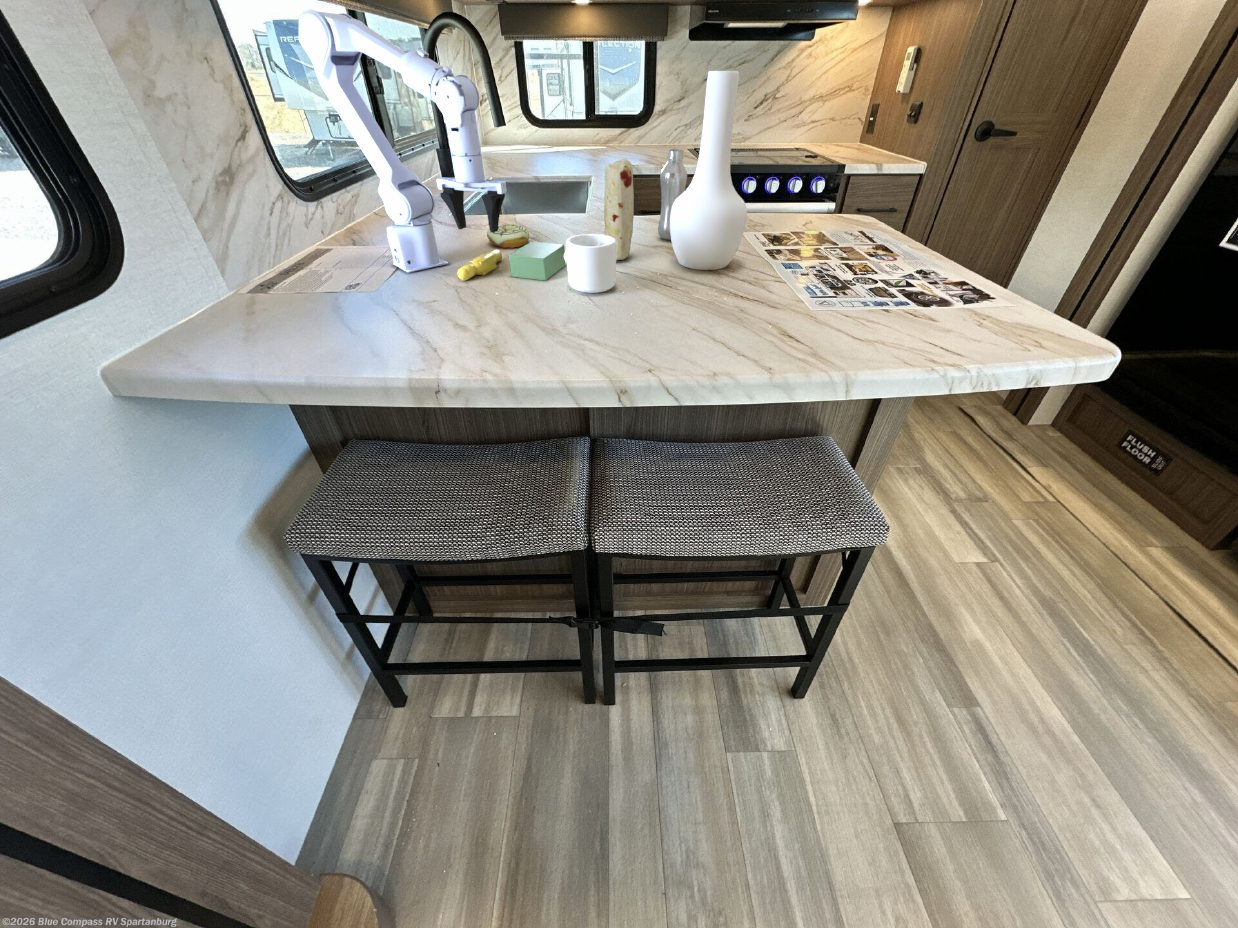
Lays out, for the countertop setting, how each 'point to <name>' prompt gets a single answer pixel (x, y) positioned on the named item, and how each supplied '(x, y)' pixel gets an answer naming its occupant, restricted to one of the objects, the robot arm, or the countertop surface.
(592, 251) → the mug
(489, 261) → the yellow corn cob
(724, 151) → the vase
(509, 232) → the decorated donut
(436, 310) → the countertop surface
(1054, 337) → the countertop surface
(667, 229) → the plastic bottle
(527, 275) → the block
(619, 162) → the food model
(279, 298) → the countertop surface
